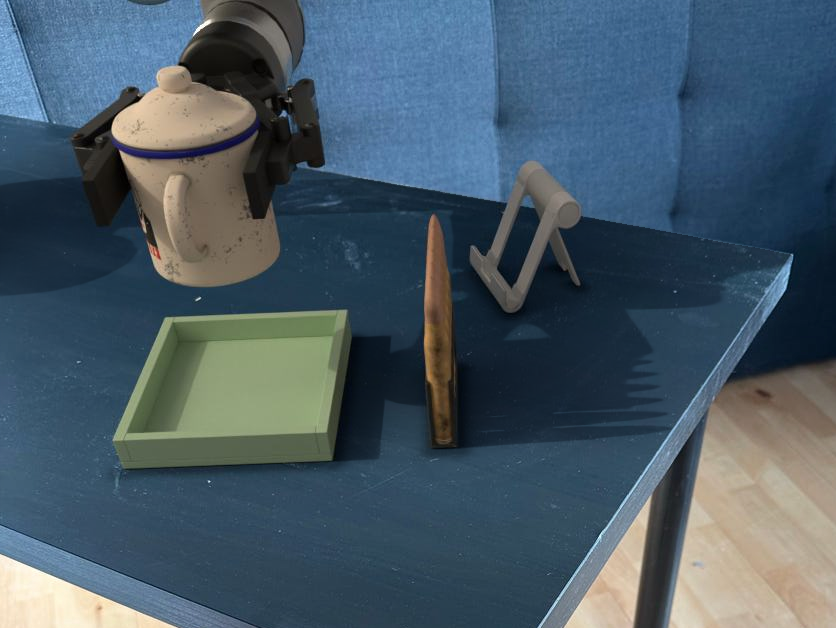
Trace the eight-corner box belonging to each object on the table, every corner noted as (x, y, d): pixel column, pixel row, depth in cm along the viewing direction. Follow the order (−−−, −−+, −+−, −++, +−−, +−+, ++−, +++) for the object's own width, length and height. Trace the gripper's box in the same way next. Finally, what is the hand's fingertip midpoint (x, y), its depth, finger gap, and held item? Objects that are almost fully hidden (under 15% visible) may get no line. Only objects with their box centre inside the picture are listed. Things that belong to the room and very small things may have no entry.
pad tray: (123, 469, 65) (111, 440, 63) (173, 344, 76) (165, 316, 74) (332, 461, 64) (327, 431, 63) (352, 337, 76) (347, 309, 74)
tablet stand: (470, 270, 83) (465, 171, 77) (553, 254, 84) (555, 156, 78) (501, 315, 77) (499, 213, 71) (590, 297, 79) (595, 196, 72)
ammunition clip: (433, 366, 72) (420, 209, 63) (457, 365, 72) (447, 207, 63) (430, 449, 65) (415, 284, 56) (457, 448, 65) (446, 283, 56)
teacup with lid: (166, 233, 68) (114, 49, 59) (291, 227, 67) (257, 42, 59) (128, 316, 59) (61, 118, 51) (270, 310, 59) (227, 110, 51)
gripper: (383, 122, 73) (363, 253, 58) (111, 136, 74) (20, 269, 59) (371, 10, 68) (345, 122, 53) (77, 26, 68) (-33, 141, 53)
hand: (174, 200), depth 56 cm, fingers closed on teacup with lid, 9 cm apart
